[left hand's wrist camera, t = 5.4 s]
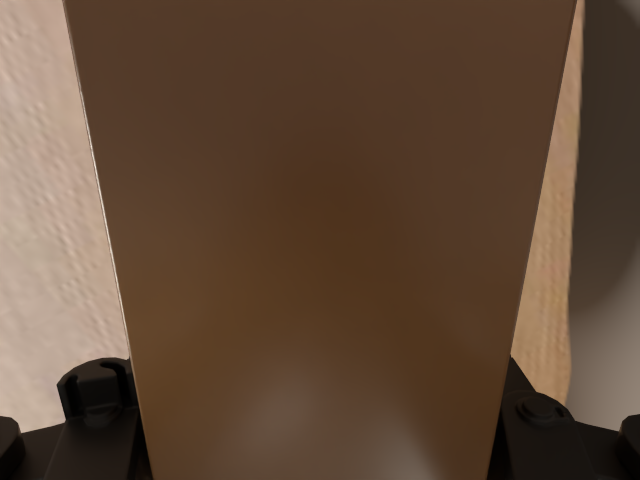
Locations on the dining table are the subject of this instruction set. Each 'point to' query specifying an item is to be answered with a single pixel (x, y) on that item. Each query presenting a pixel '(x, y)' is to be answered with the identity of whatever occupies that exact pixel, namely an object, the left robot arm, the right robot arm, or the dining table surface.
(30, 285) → the dining table surface
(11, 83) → the dining table surface
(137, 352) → the bar
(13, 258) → the dining table surface
